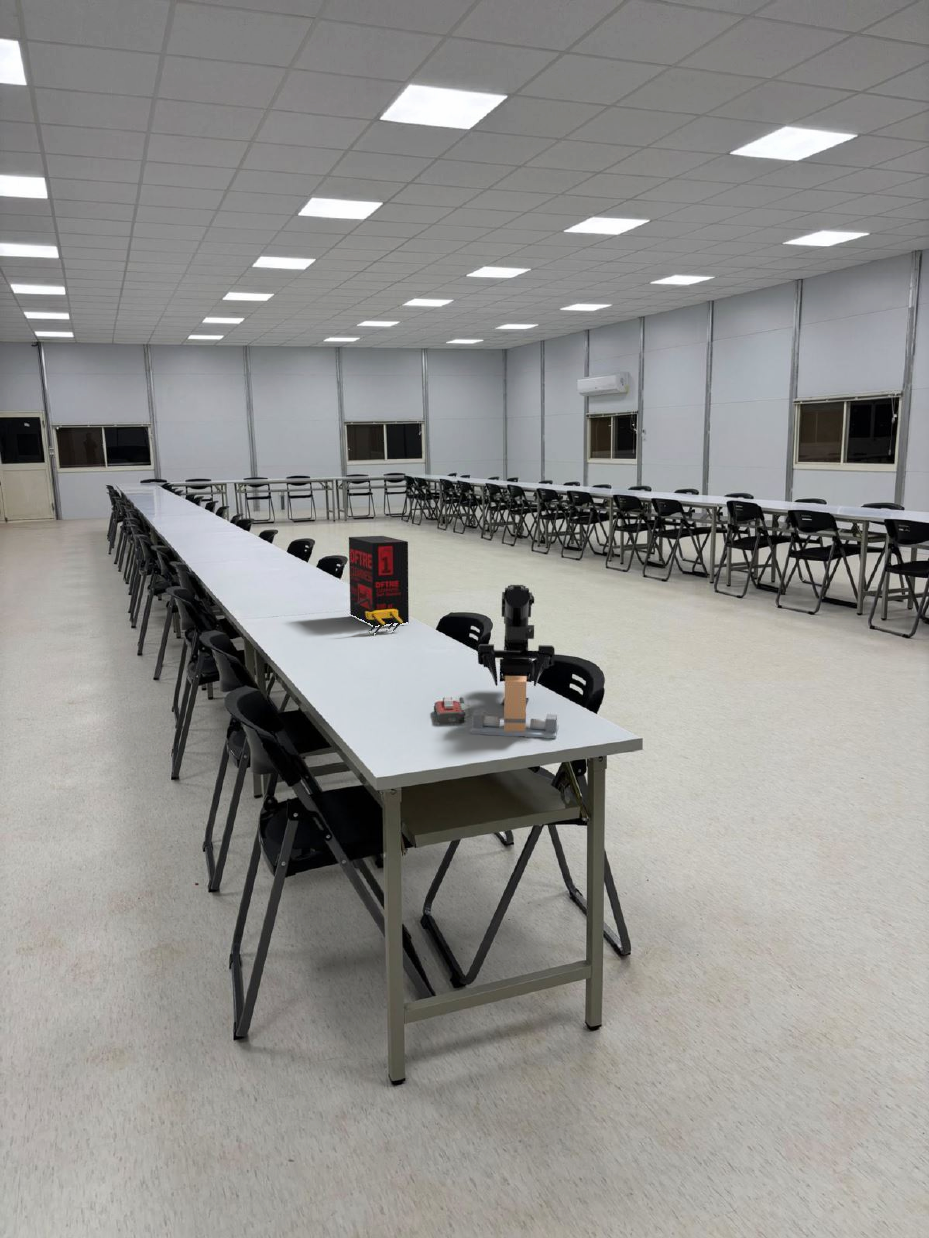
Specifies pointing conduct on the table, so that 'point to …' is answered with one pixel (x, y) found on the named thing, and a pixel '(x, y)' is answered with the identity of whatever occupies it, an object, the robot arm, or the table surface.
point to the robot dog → (380, 615)
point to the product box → (378, 576)
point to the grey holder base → (495, 727)
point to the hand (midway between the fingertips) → (515, 685)
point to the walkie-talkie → (451, 711)
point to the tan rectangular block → (515, 703)
